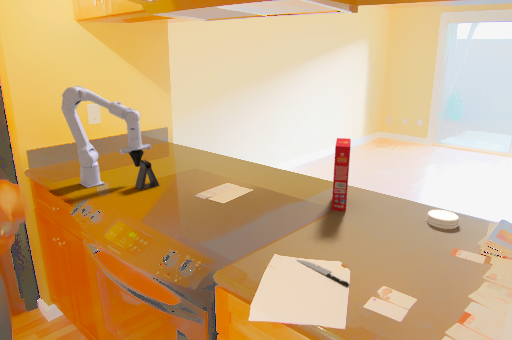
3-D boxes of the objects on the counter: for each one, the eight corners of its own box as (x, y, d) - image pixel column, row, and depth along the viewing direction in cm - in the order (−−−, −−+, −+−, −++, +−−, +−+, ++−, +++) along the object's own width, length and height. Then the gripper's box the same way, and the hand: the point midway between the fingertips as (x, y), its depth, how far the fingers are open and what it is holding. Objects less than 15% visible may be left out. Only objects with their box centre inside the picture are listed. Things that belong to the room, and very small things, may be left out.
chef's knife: (299, 256, 111) (292, 259, 109) (299, 253, 110) (292, 256, 108) (354, 284, 97) (347, 288, 95) (354, 280, 97) (348, 284, 95)
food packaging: (345, 211, 142) (350, 146, 135) (331, 210, 143) (335, 146, 136) (346, 197, 156) (350, 138, 149) (333, 196, 157) (337, 138, 150)
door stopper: (140, 190, 165) (137, 164, 162) (135, 186, 169) (132, 161, 166) (159, 186, 170) (157, 160, 167) (154, 182, 175) (152, 157, 171)
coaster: (456, 232, 125) (457, 222, 124) (424, 225, 130) (425, 216, 129) (459, 222, 133) (460, 212, 132) (428, 215, 138) (430, 207, 137)
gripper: (123, 141, 161) (127, 171, 165) (153, 136, 171) (155, 164, 175) (116, 138, 166) (119, 168, 170) (145, 134, 176) (147, 162, 180)
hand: (137, 166), depth 173 cm, fingers closed
